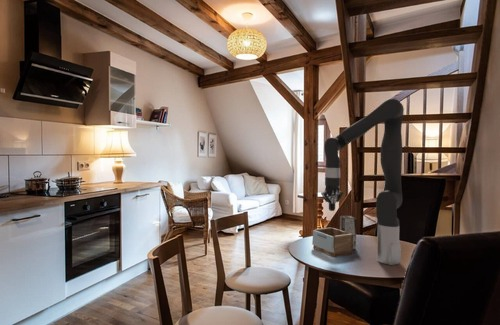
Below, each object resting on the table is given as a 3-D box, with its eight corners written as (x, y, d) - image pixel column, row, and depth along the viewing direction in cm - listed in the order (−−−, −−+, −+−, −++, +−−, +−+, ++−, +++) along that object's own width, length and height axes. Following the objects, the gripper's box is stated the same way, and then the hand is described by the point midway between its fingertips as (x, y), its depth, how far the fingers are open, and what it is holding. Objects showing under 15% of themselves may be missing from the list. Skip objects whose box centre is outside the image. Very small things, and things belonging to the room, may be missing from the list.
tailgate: (332, 252, 153) (333, 236, 153) (330, 252, 152) (331, 237, 152) (313, 244, 166) (314, 230, 166) (310, 244, 166) (312, 230, 166)
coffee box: (356, 249, 166) (357, 218, 166) (343, 249, 166) (344, 218, 166) (351, 244, 175) (351, 215, 175) (339, 244, 175) (340, 215, 175)
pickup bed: (352, 254, 158) (353, 234, 158) (333, 257, 153) (334, 236, 152) (331, 245, 172) (331, 227, 172) (313, 248, 167) (313, 229, 167)
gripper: (327, 177, 155) (326, 212, 155) (347, 177, 161) (347, 210, 161) (317, 176, 161) (316, 210, 162) (337, 176, 167) (336, 208, 168)
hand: (331, 210), depth 161 cm, fingers closed
